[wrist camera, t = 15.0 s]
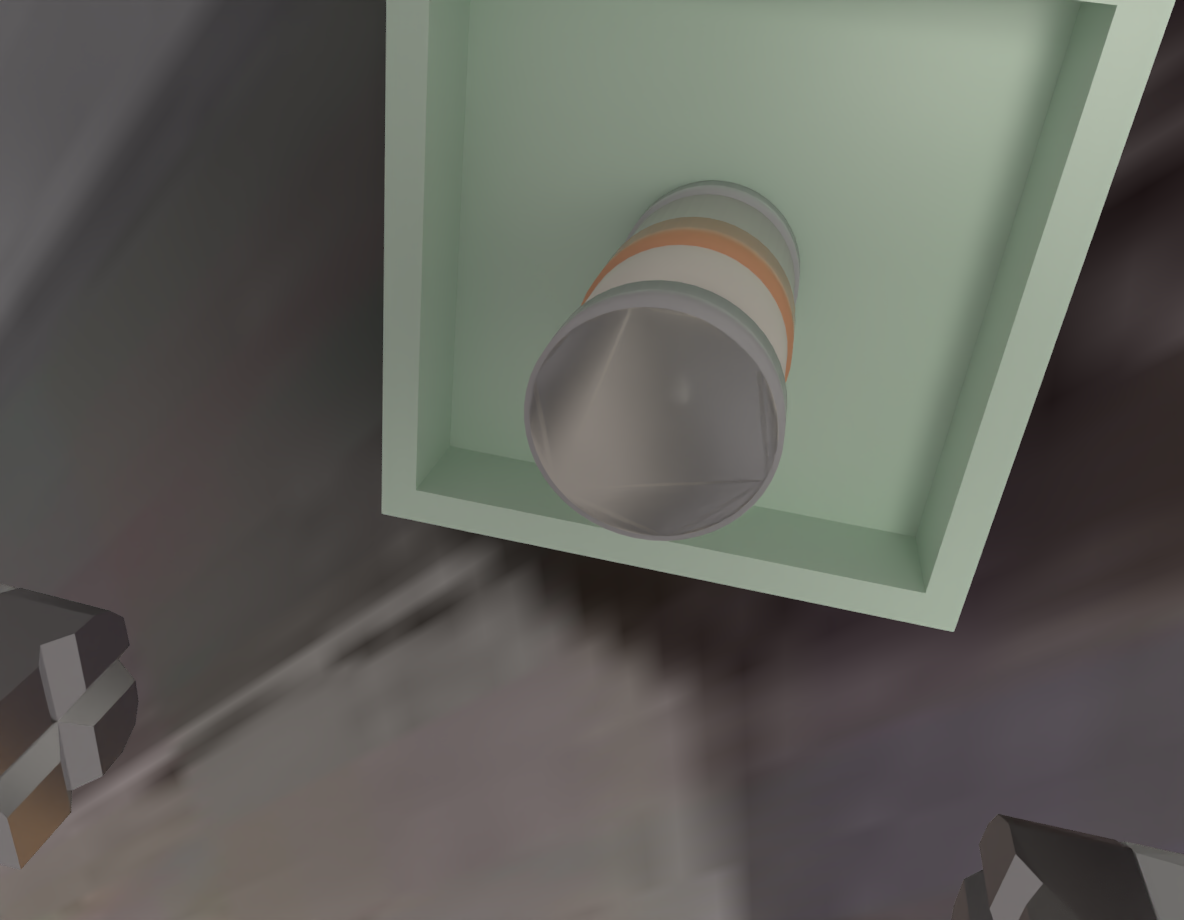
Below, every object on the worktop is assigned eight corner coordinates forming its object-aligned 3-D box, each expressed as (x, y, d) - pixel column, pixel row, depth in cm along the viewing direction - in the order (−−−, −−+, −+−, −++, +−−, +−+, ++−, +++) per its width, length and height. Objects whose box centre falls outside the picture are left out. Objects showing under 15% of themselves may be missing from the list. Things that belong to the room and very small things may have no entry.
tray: (443, -124, 24) (387, -138, 20) (1138, -44, 21) (1191, -46, 18) (424, 460, 31) (381, 513, 28) (939, 562, 29) (953, 632, 26)
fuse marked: (636, 168, 25) (532, 280, 16) (816, 194, 24) (809, 325, 16) (616, 336, 27) (515, 513, 18) (781, 364, 26) (758, 562, 18)
